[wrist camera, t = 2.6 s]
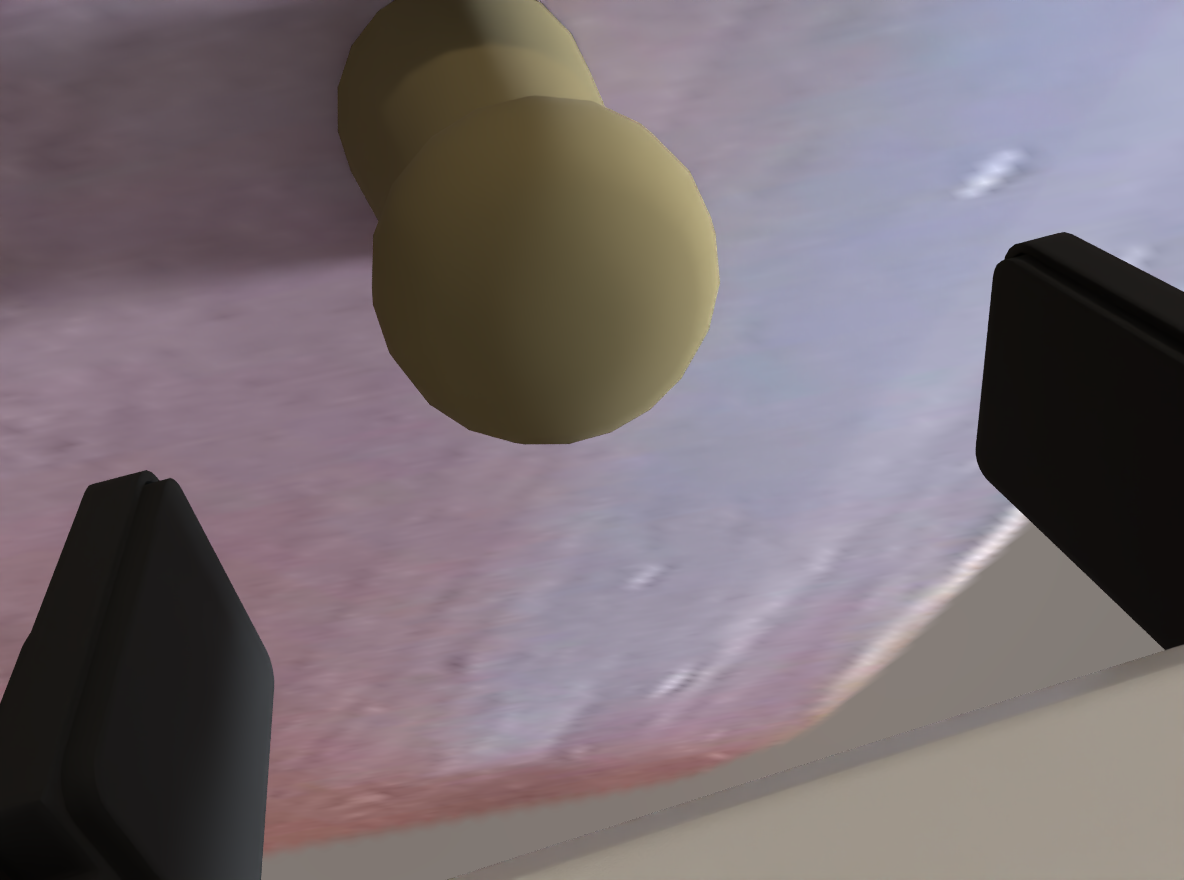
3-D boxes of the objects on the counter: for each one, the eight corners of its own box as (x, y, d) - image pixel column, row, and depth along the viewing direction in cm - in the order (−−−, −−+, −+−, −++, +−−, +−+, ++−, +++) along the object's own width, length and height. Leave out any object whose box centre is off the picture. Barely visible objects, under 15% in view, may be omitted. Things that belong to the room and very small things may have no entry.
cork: (317, 216, 22) (309, 484, 13) (361, -61, 19) (389, 35, 10) (557, 265, 24) (693, 525, 15) (628, 22, 21) (850, 163, 12)
